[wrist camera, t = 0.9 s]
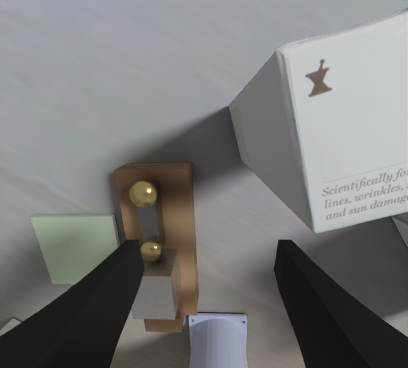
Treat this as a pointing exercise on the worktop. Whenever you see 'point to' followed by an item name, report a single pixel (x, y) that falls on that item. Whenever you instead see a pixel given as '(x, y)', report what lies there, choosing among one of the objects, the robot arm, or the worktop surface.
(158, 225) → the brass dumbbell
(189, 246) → the plane body
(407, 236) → the hard drive box
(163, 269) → the grey block
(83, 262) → the felt pad
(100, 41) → the worktop surface
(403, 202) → the skincare box
